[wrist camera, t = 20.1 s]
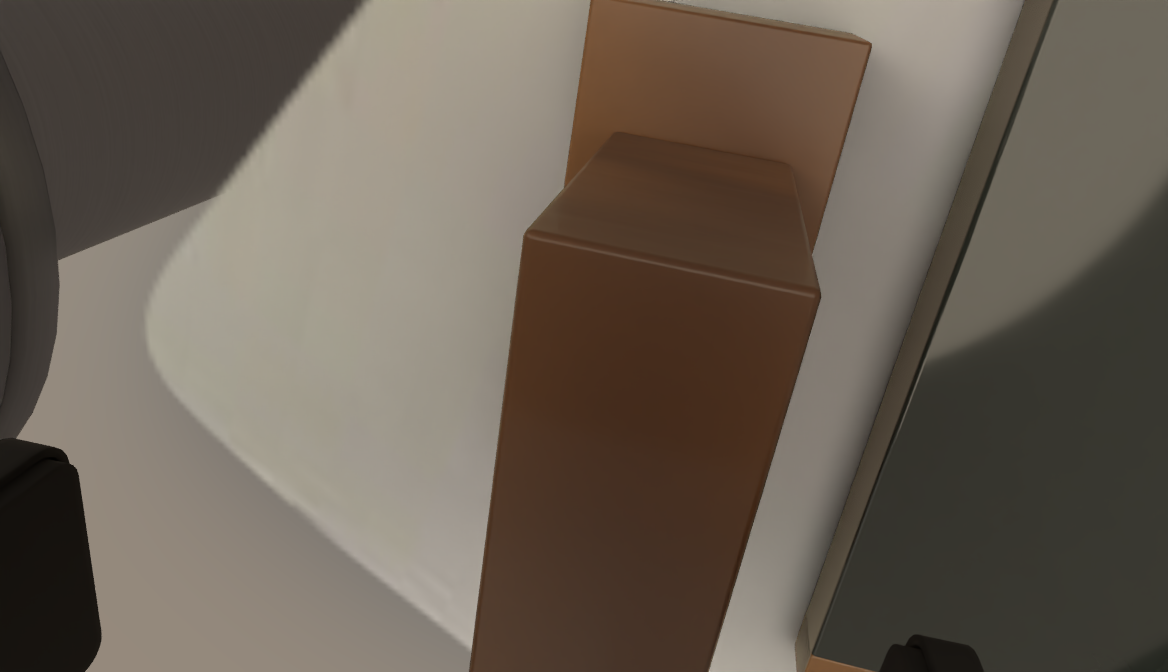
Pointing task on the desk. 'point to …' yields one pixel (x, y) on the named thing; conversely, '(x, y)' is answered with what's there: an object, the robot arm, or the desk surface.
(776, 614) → the desk surface
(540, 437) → the brown stepped wooden block
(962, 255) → the slate board
